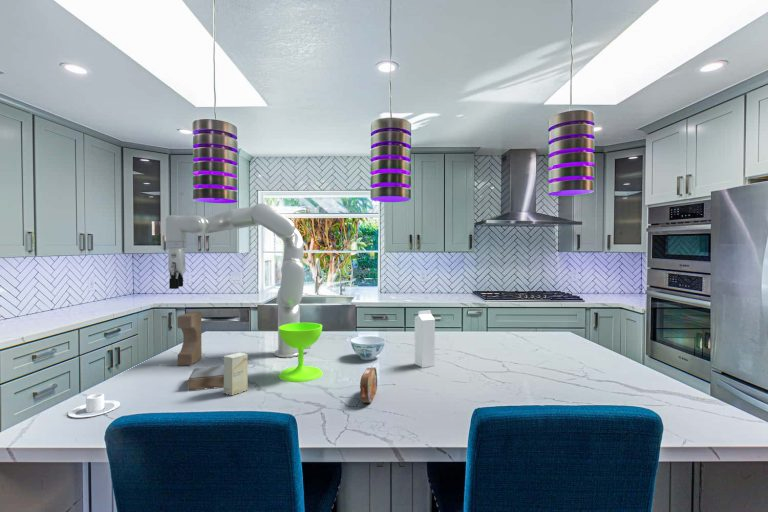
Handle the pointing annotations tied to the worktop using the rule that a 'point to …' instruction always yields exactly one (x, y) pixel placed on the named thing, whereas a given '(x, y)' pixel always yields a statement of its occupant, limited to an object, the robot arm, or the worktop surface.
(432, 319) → the milk
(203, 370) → the plinth
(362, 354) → the chinaware
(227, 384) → the skincare box
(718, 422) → the worktop surface
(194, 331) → the decorative block
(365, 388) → the tin
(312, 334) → the wineglass
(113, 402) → the candle holder
